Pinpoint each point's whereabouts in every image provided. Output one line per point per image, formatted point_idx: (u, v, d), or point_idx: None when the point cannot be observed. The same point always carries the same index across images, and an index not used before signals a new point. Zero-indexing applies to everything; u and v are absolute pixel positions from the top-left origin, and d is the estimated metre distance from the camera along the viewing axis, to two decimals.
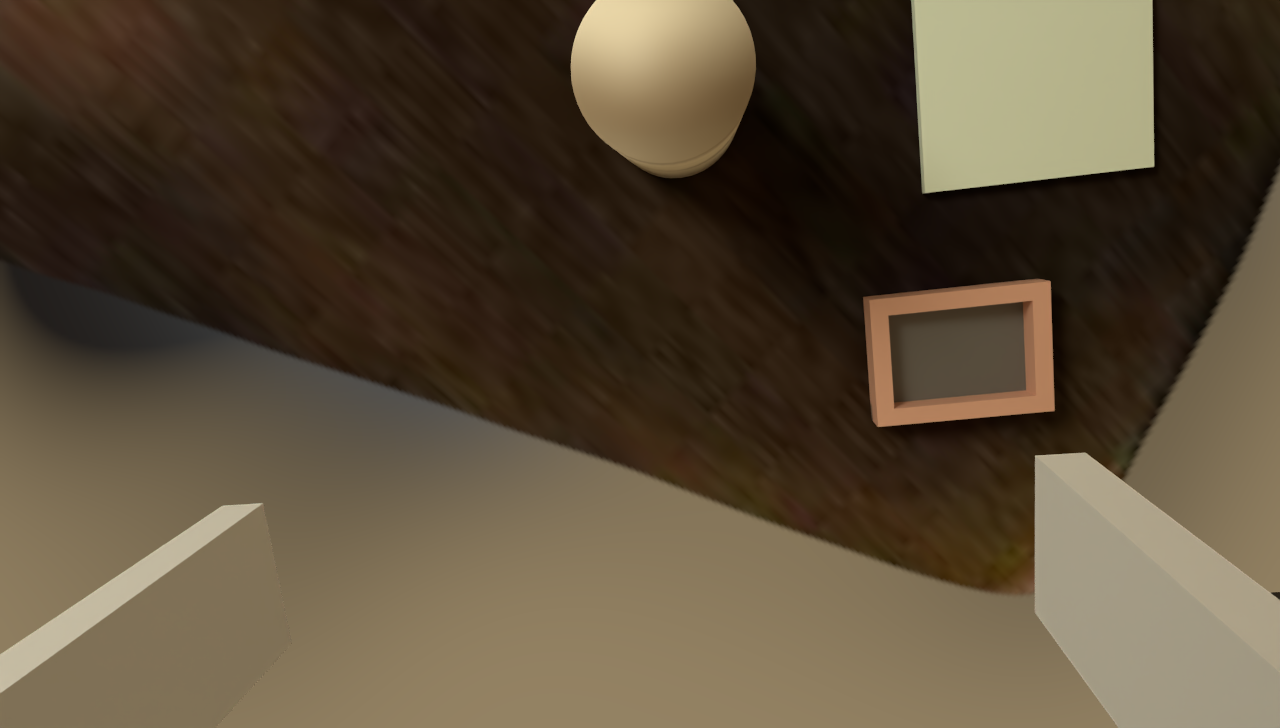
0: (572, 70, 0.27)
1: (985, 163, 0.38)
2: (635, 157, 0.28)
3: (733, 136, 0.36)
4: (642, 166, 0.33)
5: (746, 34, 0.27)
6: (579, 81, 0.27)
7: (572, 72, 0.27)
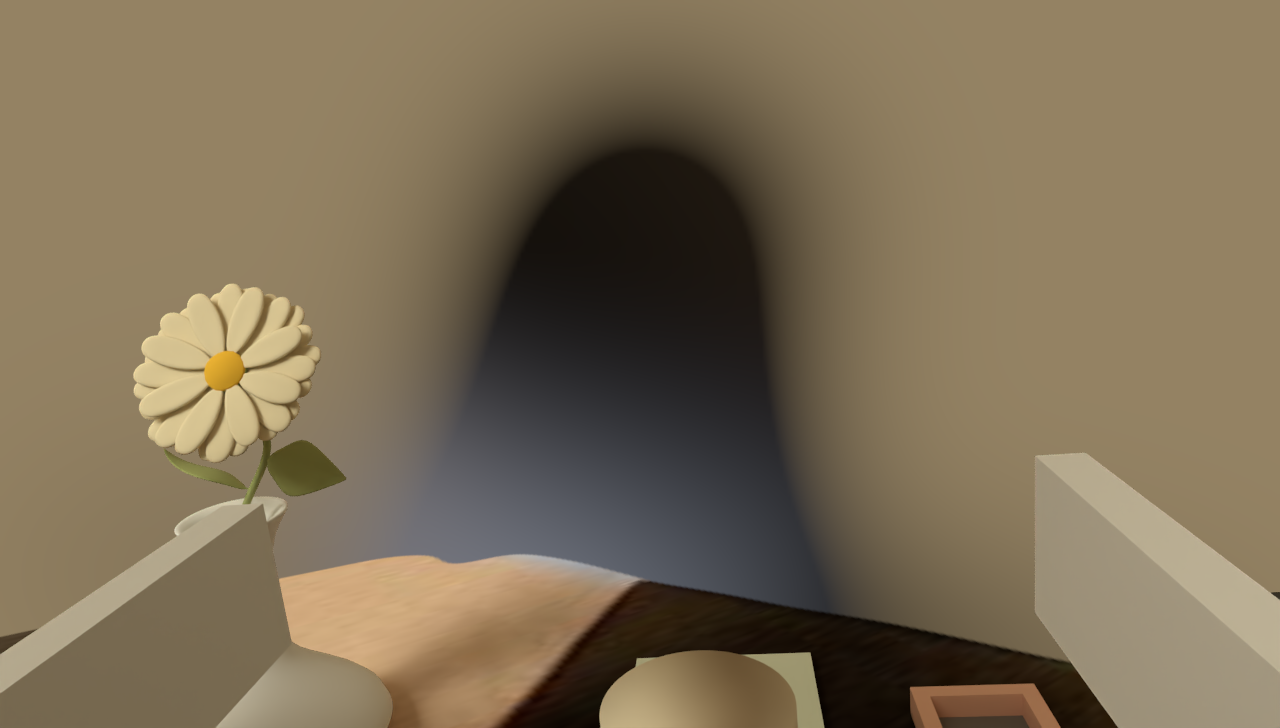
0: None
1: None
2: None
3: None
4: None
5: (678, 654, 0.28)
6: None
7: None
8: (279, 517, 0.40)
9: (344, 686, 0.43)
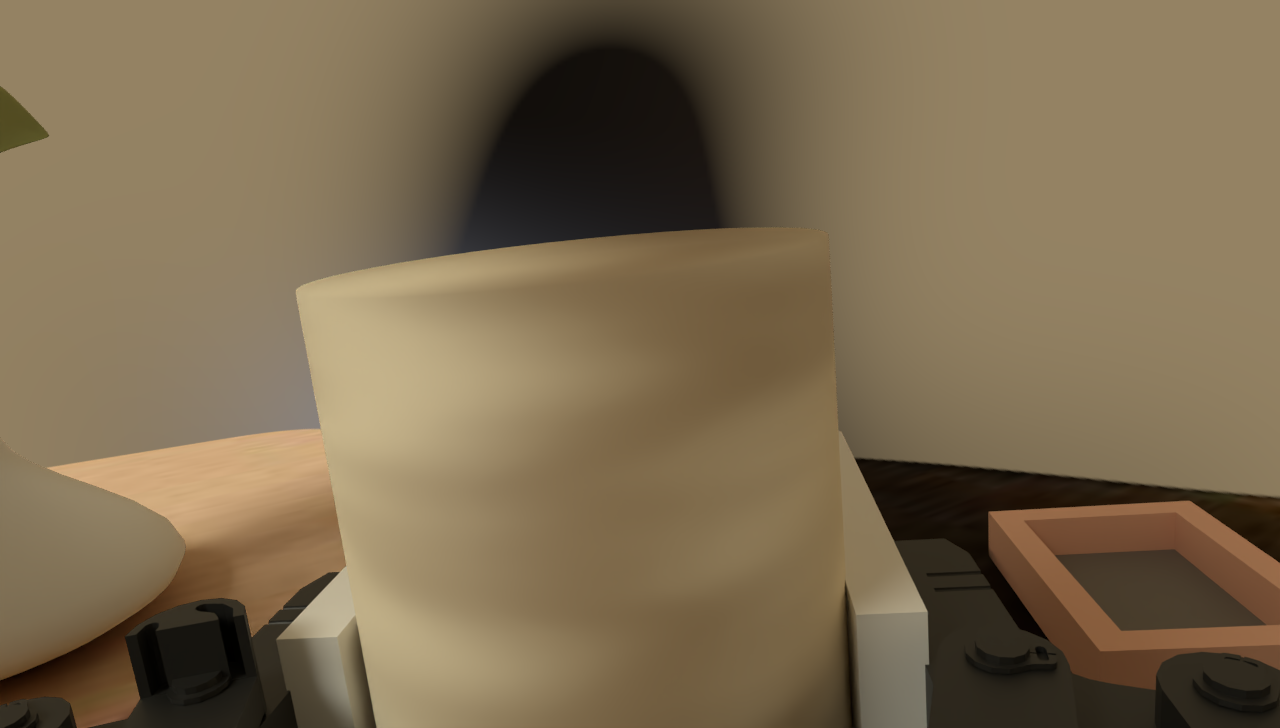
0: (472, 290, 0.07)
1: None
2: (811, 246, 0.08)
3: None
4: None
5: (554, 242, 0.13)
6: (520, 286, 0.07)
7: (479, 296, 0.07)
8: None
9: (89, 516, 0.27)
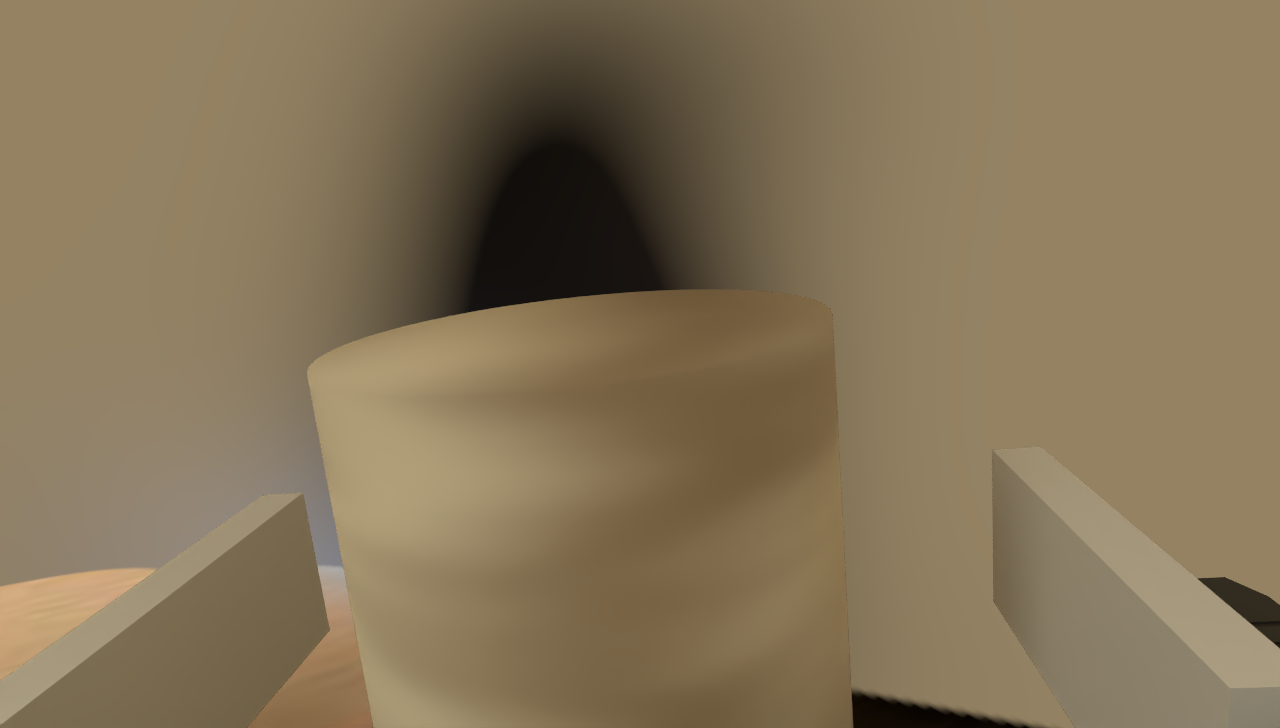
0: (484, 392, 0.07)
1: None
2: (816, 332, 0.09)
3: None
4: None
5: (559, 300, 0.13)
6: (531, 386, 0.07)
7: (490, 399, 0.07)
8: None
9: None
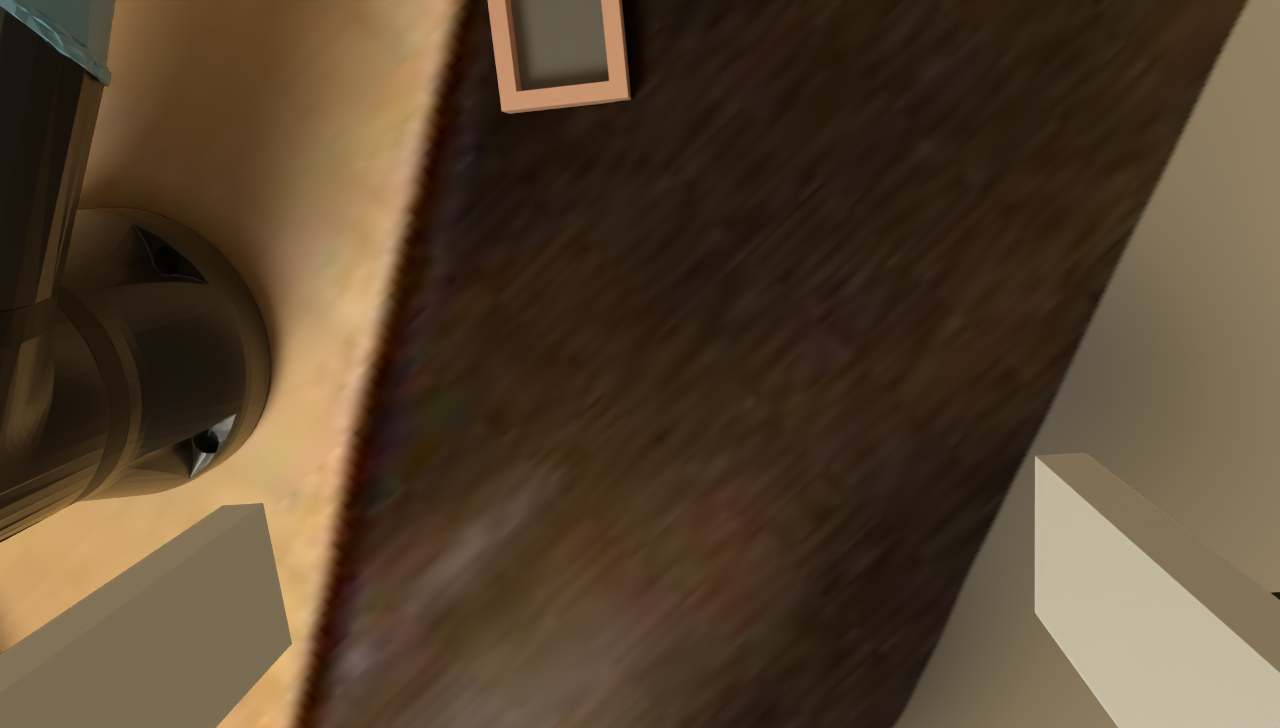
0: None
1: None
2: None
3: None
4: None
5: None
6: None
7: None
8: None
9: None
